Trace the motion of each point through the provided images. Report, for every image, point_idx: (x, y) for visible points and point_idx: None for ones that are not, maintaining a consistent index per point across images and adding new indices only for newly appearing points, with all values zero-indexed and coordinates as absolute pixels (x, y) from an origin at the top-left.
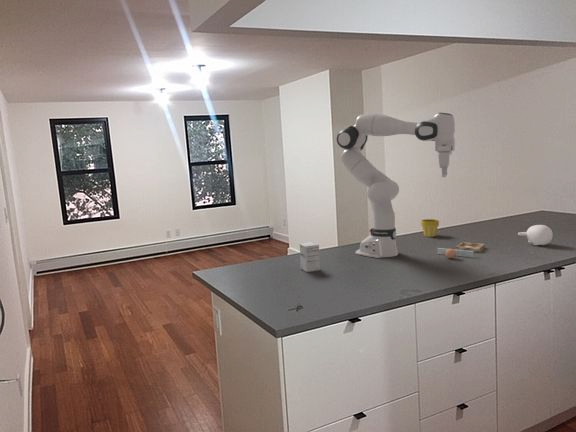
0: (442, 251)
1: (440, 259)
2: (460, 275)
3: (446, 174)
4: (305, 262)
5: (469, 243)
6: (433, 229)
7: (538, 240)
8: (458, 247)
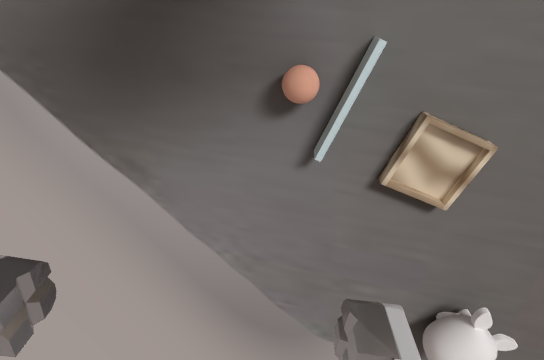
0: (365, 58)
1: (286, 41)
2: (95, 86)
3: (334, 345)
4: None
5: (474, 168)
6: None
7: (428, 329)
8: (420, 124)
